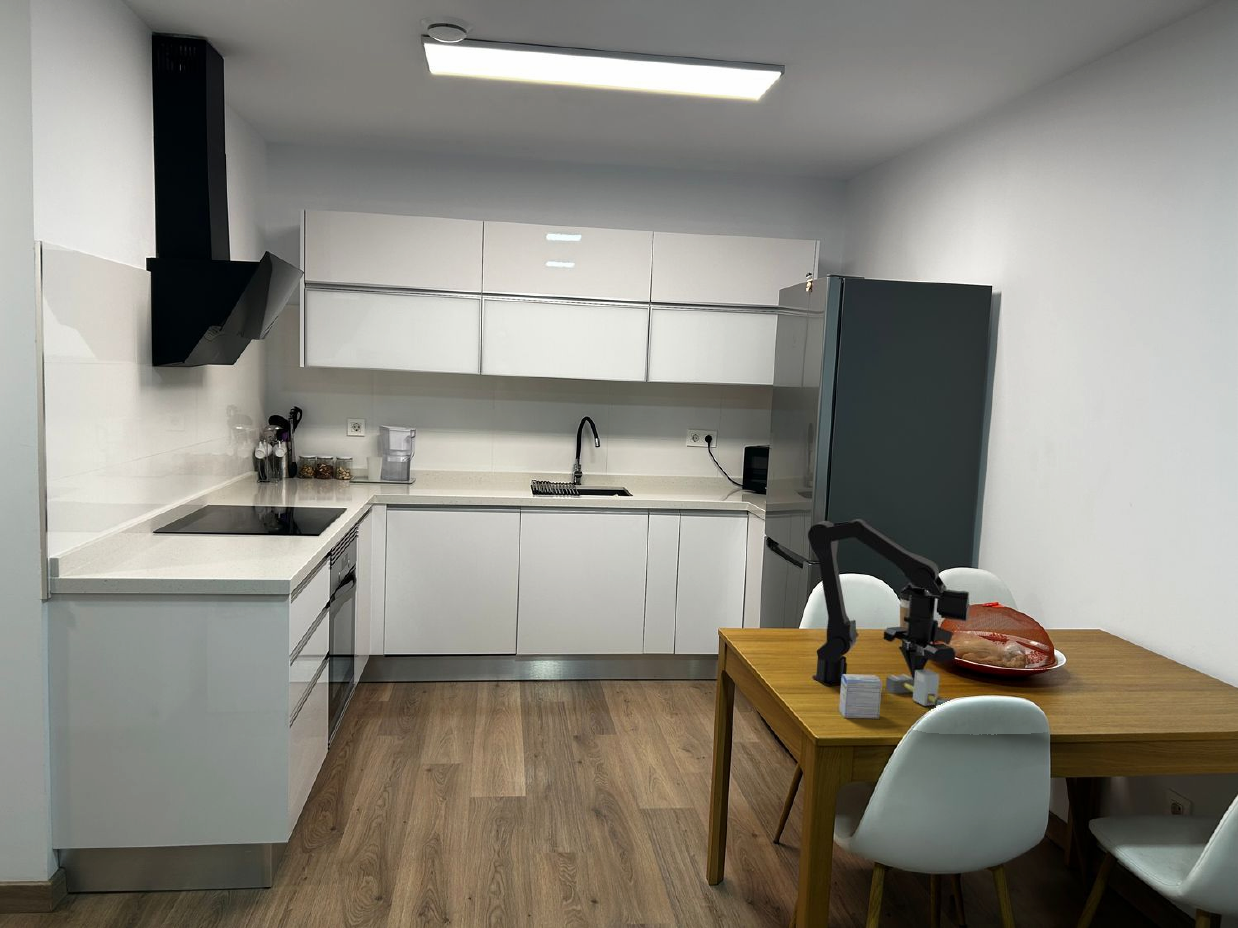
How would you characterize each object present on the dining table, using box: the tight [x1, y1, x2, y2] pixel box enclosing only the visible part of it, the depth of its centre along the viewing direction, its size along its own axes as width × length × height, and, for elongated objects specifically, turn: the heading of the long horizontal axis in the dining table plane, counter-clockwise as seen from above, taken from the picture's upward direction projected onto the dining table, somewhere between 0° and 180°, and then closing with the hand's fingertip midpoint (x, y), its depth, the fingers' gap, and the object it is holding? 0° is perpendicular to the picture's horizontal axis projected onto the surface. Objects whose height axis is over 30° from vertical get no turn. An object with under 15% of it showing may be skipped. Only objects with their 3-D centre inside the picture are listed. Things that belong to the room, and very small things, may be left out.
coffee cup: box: [898, 588, 910, 629], centre depth 266 cm, size 8×8×15 cm
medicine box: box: [838, 673, 883, 720], centre depth 204 cm, size 8×4×9 cm, turn 92°
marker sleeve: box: [912, 668, 940, 706], centre depth 214 cm, size 4×4×7 cm
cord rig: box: [885, 673, 951, 706], centre depth 215 cm, size 6×19×4 cm, turn 22°
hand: (915, 679), depth 217 cm, fingers closed
